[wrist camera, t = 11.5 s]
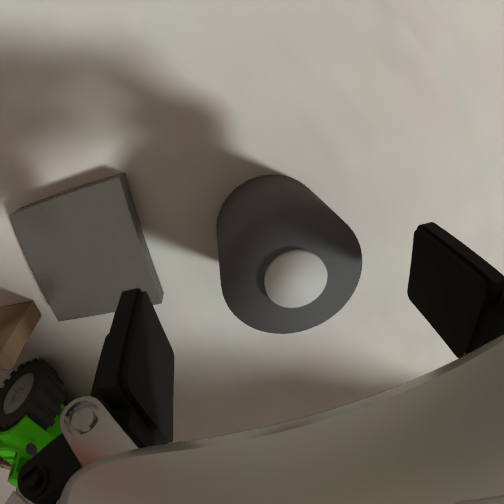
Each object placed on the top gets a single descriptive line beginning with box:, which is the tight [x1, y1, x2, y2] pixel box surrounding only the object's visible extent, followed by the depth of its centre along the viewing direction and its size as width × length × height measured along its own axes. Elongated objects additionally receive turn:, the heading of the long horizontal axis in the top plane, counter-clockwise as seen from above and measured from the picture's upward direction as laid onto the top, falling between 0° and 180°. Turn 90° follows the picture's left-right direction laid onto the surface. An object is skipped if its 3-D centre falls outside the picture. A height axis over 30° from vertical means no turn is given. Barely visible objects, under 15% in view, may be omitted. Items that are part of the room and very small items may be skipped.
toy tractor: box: [0, 358, 65, 493], centre depth 17 cm, size 11×16×10 cm
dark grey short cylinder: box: [217, 175, 362, 334], centre depth 14 cm, size 6×6×5 cm
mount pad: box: [10, 173, 164, 321], centre depth 15 cm, size 7×7×1 cm
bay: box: [0, 301, 41, 470], centre depth 18 cm, size 18×17×5 cm
